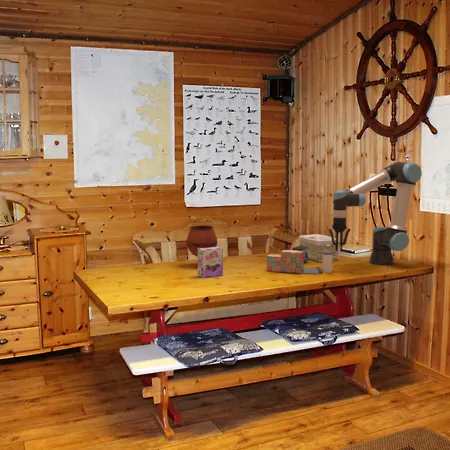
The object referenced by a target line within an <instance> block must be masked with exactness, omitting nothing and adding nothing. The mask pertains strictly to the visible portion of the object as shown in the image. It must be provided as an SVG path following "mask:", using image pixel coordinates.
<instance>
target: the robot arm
mask: <svg viewBox="0 0 450 450" xmlns="http://www.w3.org/2000/svg"><path fill="white" fill-rule="evenodd" d="M421 178H422V168H421V167H420V165H419V164H418V163H416V162H411V161H409V162H408V161H407V162H406V161H398V162H394V163H392V164H390V165H387V166H386V167H384V168H382V169H381V170H379V172H378V173H376V174H374V175H372V176H370V177H369V178H367V179H365V180H363V181H362V182H359V183H357V184H356V185H354V186H352V187H350V188H347V189H346V190H335V191H334V192H333V207H332V208H333V211H332V213H333V214H332V216H333V218H332V225H331V227H330V228H328V231H329V235H330V237H331V239H332V243H333V245H335V246H336V247H335V250H336V251H337V258H338V257H339V258H340V257H341V252H342V251H343V246H345V245H346V244H347V240H348V236H349V233H350V231H351V229H350V228H349V227H348V226H347V208H348V207H363V206H365V204H366V194H368V193H370V192H371V191H373V190H376V189H377V188H379V187H382V186H383V185H384V184H389V183H392V182H395V184H396V186H397V188H396V194H395V200H394V205H393V210H392V215H391V221H390V224H389V225H388V226H377V227H374V228H373V230H372V249H371V250H372V251H371V253H370V257H369V261H368V262H369V263H370V264H372V265H379V266H383V265H384V266H386V265H387V266H389V265H390V266H391V265H393V264H394V263H395V260H394V255H393V253H392V251H395V252H396V251H397V252H401V251H403V250H405V249H406V248H408V246H409V243H410V237H409V235H408V233H407V232H408V229H407V228H406V224H407V219H408V214H409V213H408V212H409V208H410V202H411V198H412V191H413V189H414V187H416V185H417V184H416V183H417V182H419V180H420V179H421ZM333 231H334V233H335V237H334V233H333ZM344 232H345V233H344ZM343 235H344V236H343ZM334 238H336V242H335V241H334ZM343 238H344V239H343ZM338 241H339V243H338Z"/></svg>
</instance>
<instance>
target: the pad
mask: <svg viewBox="0 0 450 450" xmlns="http://www.w3.org/2000/svg"><path fill="white" fill-rule="evenodd" d="M323 273H324V272H323V271H322V268H321V267H320V266H315V267H314V266H313V267H311V266H309V267H308V266H307V267H305V266H304V271H303V272H302V273H299V275H320V274H321V275H323Z"/></svg>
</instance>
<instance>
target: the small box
mask: <svg viewBox="0 0 450 450" xmlns="http://www.w3.org/2000/svg"><path fill="white" fill-rule="evenodd" d="M291 249H292V250H298V251H304V264H307V262H309V259H308V247H306V246H300V245H299V246H294V247H292V248H291Z"/></svg>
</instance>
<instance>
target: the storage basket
mask: <svg viewBox="0 0 450 450" xmlns="http://www.w3.org/2000/svg"><path fill="white" fill-rule="evenodd" d="M298 240H299V246H306V247H308V260H312V261H315V262H317V263H322V259H323V251H332V262H334V261H336V260H337V258H338V257H337V251H336V250H335V247H336V246H335V245H333V243H332V239H331V236H328V235H323V234H318V233H315V234H304V235H299V238H298ZM334 241H335V242H336V237H334ZM338 244H340V240H338Z"/></svg>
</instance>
